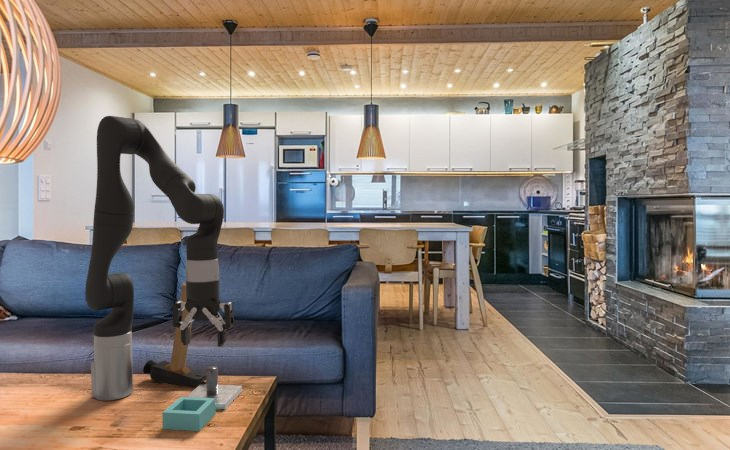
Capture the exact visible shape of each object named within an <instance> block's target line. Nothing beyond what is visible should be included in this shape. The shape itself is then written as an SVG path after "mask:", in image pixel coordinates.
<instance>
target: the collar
mask: <svg viewBox="0 0 730 450" xmlns="http://www.w3.org/2000/svg"><path fill="white" fill-rule="evenodd" d="M216 410H217V409H215V398H199V397H186V396H180V397H179V398H177V399H176V400H175V401H174V402H173V403H172V404H170V405H169V406H168V407H167V408H166V409H164V411H162V415H161V417H162V430H172V431H173V430H174V431H175V430H176V431H191V432H193V431H194V432H201V431H202V429H203V428H205V426H206V425H207V424H208V423H209V421H211V420H212V418H213V417H214V416H215V415H216V413H217V411H216Z"/></svg>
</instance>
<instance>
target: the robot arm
mask: <svg viewBox="0 0 730 450" xmlns="http://www.w3.org/2000/svg"><path fill="white" fill-rule="evenodd" d="M123 154H124V155H136V156H137V157H139V158H141V159H143V161H145V162H146V163H147V164H148V170H149V176H150V178H151V181H152V182H153V184H154V185H155V186H156V188H158V189H159V190H160V191H161V192H162V193H163V194H164V195H165V196H166V197H167V198H168V199H169V201H170V203H171V205H172V207H173V209H174V211H175V213H176V215H177V216H178V217H179V218H180V219H181V220H182V221H184V222H185V223H186V224H190V225H198V228H197V231H196V232H195V233H192V234H190V235H189V236H188V237H187V238H186V242H185V244H186V264H185V283H186V298H187V301H186V302H182V301H181V300H180V299H179V300H178V301H175V302H173V305H172V327H174V328H176V327H177V328H180V330H181V342H182V343H183V345H188V344H189V345H190V343H191V332H190V328H188V327H189V326H190V324H191V323H192V324H193V322H194V321H196V322H200V321H203V322H209V321H210V323H211V324H212V325H214V326H215V327H216V329H217V330H218V331H217V332H216V333H217V347H219V348H221V347H223V346H224V345H225V344H226V342H227V330H229V329H231V328H232V327H233V326H235V317H234V316H235V315H234V305H233V302H232V301H229V302H221V301H220V276H221V275H220V274H221V273H220V265H219V259H218V258H219V257H218V256H219V254H218V253H219V252H218V251H219V250H218V249H219V248H218V242H219V239H220V238H219V237H220V235H221V231H222V230H221V229H222V226H223V222H224V215H225V208H224V203H223V201H222V199H221V198H220V197H219V196H218V195H216V194H213V193H195V192H196V187H197V186H196V184H195V182H194V180H193V179H192V178H191V177H190V176H189V175H188V174H187V173H186V172H185V171H184V170H183V169H182V168H180V166H179V165H177V164H176V163H175V162H174V161H173V159H171V157H170V156H169V155H168V154H167V152H166V151H165V150H164V148H163V146H162V145H161V143H159V141H158V140H157V139H156V136H154V134H153V133H152V131H151V130H150V129H149V128H148V127H147V125H146V124H145V123H143V122H142V121H140V120H139V119H135V118H131V117H130V118H129V117H123V116H115V115H106V116H104V117H103V118H101V120H100V121H99V122H98V127H97V132H96V163H97V164H96V165H97V169H96V170H97V171H96V173H97V174H96V189H95V191H96V192H95V200H94V201H95V202H94V211H93V226H92V229H93V230H92V245H91V251H90V252H91V253H90V259H89V263H88V270H87V276H86V281H85V289H84V290H85V291H84V292H85V293H84V295H85V302H86V305H87V307H88V308H89V309H90V310H92V311H103V310H108V309H111V311H110V312H109V313H108V314H106V316H105V317H103V318H102V319H100V320H98V321H96V322H95V324H94V325H93V351H94V353H93V354H94V357H93V359H94V360H93V361H92V362H91V363H90V373H91V374H90V375H91V377H90V379H91V398H94V399H96V400H99V401H114V400H119V399H123V398H126V397H127V396H131V394H133V392H134V374H133V372H134V371H133V368H134V367H133V338H132V337H133V333H132V332H133V331H132V329H133V327H132V326H133V322H134V305H135V304H134V302H135V287H134V282H133V280H132V277H131V276H130V275H129V274H128V273H126V272H117V273H109V270H110V266H111V264H112V261H113V259H114V257H115V256H116V255H117V253H118V251H119V250H120V249H121V247H122V246H123V245H124V243H125V242H126V241H127V239H128V237H129V236H130V234H131V232H132V230H133V225H134V216H135V202H134V199H133V197H132V195H131V193H130V191H129V190H128V188H127V185H126V184H125V182H124V180H123V177H122V172H121V155H123ZM184 308H186V310H187V311H188V312H189V314H188V315H187V317H186V318H185V320H184V322H182V315H183V310H184ZM220 310H222V311H221V312H223V313H224V319H223V317H222V315H221V314H220V312H219V311H220ZM189 345H188V346H189Z"/></svg>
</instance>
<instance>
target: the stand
mask: <svg viewBox="0 0 730 450" xmlns="http://www.w3.org/2000/svg"><path fill="white" fill-rule="evenodd" d="M205 370H206V371H205V373H206V380H205V381H206V382H205V383H206V384H205V383H200V384H199V385H197V386H196V388H194V389H193V390H192V391H191V392H190V393H189V394H187V395H186V396H185V397H199V398H215V410H220V409H224V410H225V411H226V409H228V407H229V406H230V405H231V404H232V403H233V402H234V401H235V400H236V398H237V397H238V396H239V395H240V394H241V393H242V392H243V385H231V384H219V366H216V365H210V366H207V367H206V368H205ZM233 400H234V401H233ZM224 410H223V411H224Z"/></svg>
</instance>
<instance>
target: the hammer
mask: <svg viewBox="0 0 730 450" xmlns="http://www.w3.org/2000/svg"><path fill="white" fill-rule="evenodd" d="M180 300H181V301H182V302H186V301H187V298H186V282H183V283H182V285H181V292H180V299H179V301H180ZM188 314H189V312H188V311H187V310H186V308H184V310H183V315H182V322H184V320H185V318H186V317H187V315H188ZM192 324H193V322H192V323H191V324H190V326H189V327H188V328H190V333H191V330H192ZM173 338H174V339H173V346H172V352H171V358H170V362H169V361H166V360H162V361H159V362H155V361H154V360H153V359H150V360H148V361H146V363H145V364H144V366H143V367H142V368H143V369H142V372H143V374H145V375H149V376H150V377H149V378H150V380H152V381H155V382H159V383H162V384H165V385H169V386H170V385H171V386H179V387H186V388H195V387H198V386H199V385H200V384H203V383H204V381H206V372H202V371H198V370H195V369H192V368H189V367H188V366H186V365H187V357H188V351H189V350H188V349H189V345H190V344H188V345H183V343H182V342H181V330H180V328H177V327H175V331H174V336H173Z"/></svg>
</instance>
